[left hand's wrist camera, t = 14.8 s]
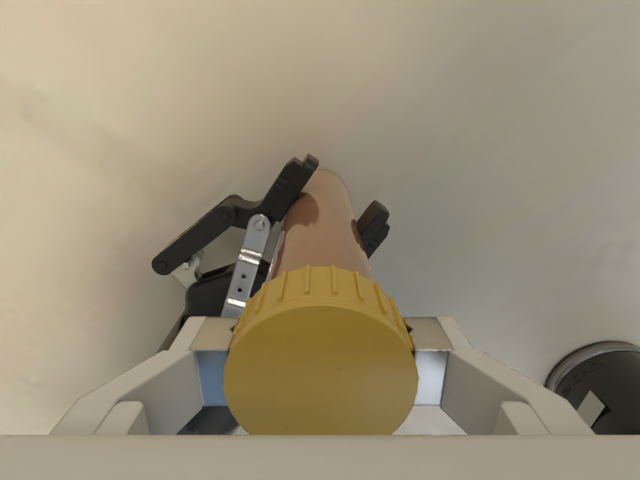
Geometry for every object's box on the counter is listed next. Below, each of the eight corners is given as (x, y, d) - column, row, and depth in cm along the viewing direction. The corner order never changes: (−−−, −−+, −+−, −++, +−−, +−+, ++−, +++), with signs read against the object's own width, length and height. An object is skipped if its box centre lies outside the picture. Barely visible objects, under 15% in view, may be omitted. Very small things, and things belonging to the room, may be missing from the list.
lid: (288, 421, 12) (281, 482, 10) (204, 307, 10) (178, 353, 8) (427, 366, 11) (450, 422, 9) (360, 233, 9) (370, 266, 7)
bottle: (292, 222, 27) (246, 431, 10) (291, 168, 25) (235, 304, 8) (345, 223, 27) (392, 432, 10) (348, 169, 25) (407, 305, 8)
